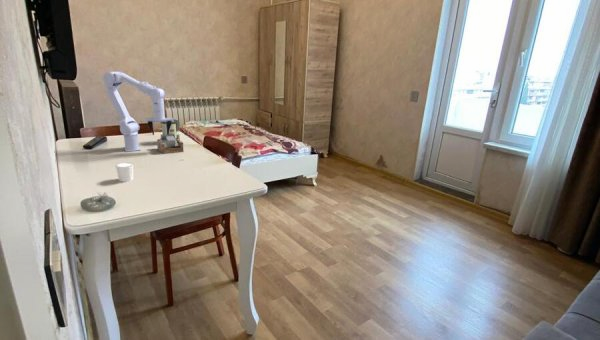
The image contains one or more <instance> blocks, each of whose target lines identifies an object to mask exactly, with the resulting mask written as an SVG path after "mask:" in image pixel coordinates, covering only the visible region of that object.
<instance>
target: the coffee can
mask: <svg viewBox="0 0 600 340" xmlns="http://www.w3.org/2000/svg"><path fill="white" fill-rule="evenodd" d="M173 120H174V122H172V124H171V126H170V129H169V134H174V135H175V138H178V139H179V140H180V139H181V138H180V125H179V124H180V123H179V120H178V119H173ZM160 123H161V132H162V135H164V134H167V122H160ZM180 141H181V140H180Z"/></svg>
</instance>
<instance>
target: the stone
mask: <svg viewBox="0 0 600 340" xmlns="http://www.w3.org/2000/svg"><path fill="white" fill-rule="evenodd" d="M166 144H167V146H168V147H173V146H175V138H174V136H167V137H166Z"/></svg>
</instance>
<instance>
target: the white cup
mask: <svg viewBox="0 0 600 340" xmlns="http://www.w3.org/2000/svg"><path fill="white" fill-rule="evenodd" d="M115 169H116V173H117V177H118V181H119V182H121V183H125V182H126V183H127V182H131V181H133V180H134V164H133V163H131V162H121V163H117V164H116V165H115Z"/></svg>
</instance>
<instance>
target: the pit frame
mask: <svg viewBox="0 0 600 340" xmlns="http://www.w3.org/2000/svg"><path fill="white" fill-rule="evenodd" d="M175 139H176V141H177V143H178V145H179V147H169V148H164V144H163V143H162V142H161V141H160V138H159V139H157V140H156V144H157V149H158V151H159V152H160V153H161V154H162V155H165V154H175V153H184V142H183V141H181V140H179V139H178V138H175Z"/></svg>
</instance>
